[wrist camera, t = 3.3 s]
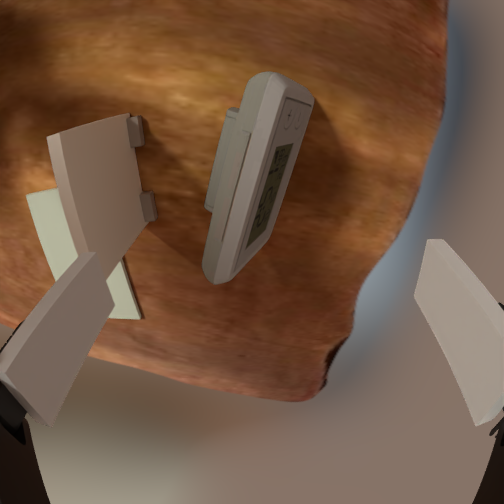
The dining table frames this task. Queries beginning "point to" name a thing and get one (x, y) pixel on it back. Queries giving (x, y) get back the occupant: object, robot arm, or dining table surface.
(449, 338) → the robot arm
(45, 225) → the mat
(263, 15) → the dining table surface
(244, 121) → the digital clock
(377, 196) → the dining table surface
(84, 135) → the screen
